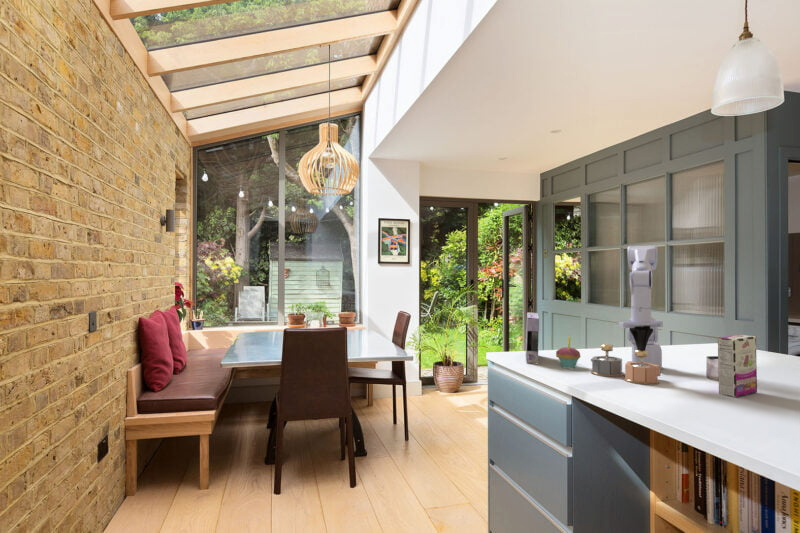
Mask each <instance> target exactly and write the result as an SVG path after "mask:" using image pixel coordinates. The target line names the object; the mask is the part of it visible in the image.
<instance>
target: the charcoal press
mask: <svg viewBox="0 0 800 533" xmlns="http://www.w3.org/2000/svg"><path fill="white" fill-rule="evenodd" d="M599 358H606V355H597V356H596V355H595V356H592V358H591V359H590V362H592V363H591V366H592V368H591V369H590V373H591V375H596V376H598V377H599V376H600V377H608V378H616V377H617V378H618V377H624V375H625V372H624V371H623V359H622V358H621V357H617V356H609V355H608V358H613V359H615V360H600V359H599Z"/></svg>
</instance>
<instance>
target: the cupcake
mask: <svg viewBox="0 0 800 533" xmlns="http://www.w3.org/2000/svg"><path fill="white" fill-rule="evenodd" d="M567 339H568V340H567V347H565V346H564V347H561V348H559V349H558V350H556V351H555V352H556V353H555V355H556V356H555V357H556V358H558V360H559V362H560V365H561V367H562V368H564V369H574V368H576V366H577V363H578V361H579V359H580V358H581V353H580V351H579V350H577V349H576V348H573V347H571V335H570V334H569V335H568V338H567Z"/></svg>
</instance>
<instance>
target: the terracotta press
mask: <svg viewBox="0 0 800 533" xmlns="http://www.w3.org/2000/svg"><path fill="white" fill-rule="evenodd" d="M633 364H640V362H632V360H631V361H627V362H626V363H625V365H624V366H625V367H624V371H625V372H624V375H625V376H623V380H624V381H625V382H627V383H631V384H635V385H636V384H637V385H647V386H649V385H658V384H660V383H661V382H660V379H658V378H659V377H661V369H660V365H655V364H651V363H644V362H643V364H646V365H650V367H638V366H633Z"/></svg>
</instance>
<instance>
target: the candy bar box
mask: <svg viewBox="0 0 800 533" xmlns="http://www.w3.org/2000/svg"><path fill="white" fill-rule="evenodd" d="M717 357H718V358H717V361H718V394H719V395H721V394H722V396H726V395H727V397H731V398H739V397H744V396H748V395H751V394H756V393H758V374H757V373H758V372H757V370H758V367H757V360H758V359H757V336H754V335H747V334H737V335H728V336H722V337H718V338H717Z"/></svg>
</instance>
